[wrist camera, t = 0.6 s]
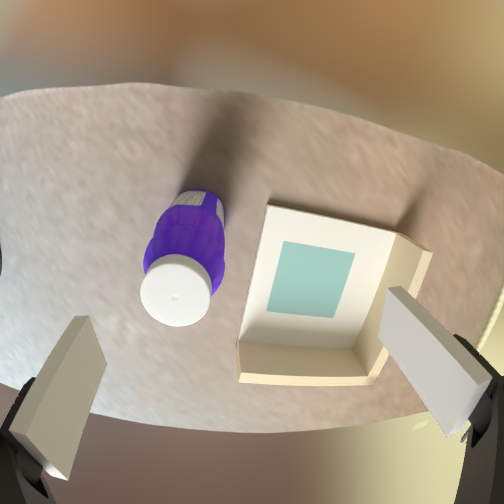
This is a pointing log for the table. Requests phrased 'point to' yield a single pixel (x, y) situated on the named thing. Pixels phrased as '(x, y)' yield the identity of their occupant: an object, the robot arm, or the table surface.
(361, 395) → the table surface
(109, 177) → the table surface
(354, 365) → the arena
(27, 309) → the table surface
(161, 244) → the bottle
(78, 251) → the table surface
